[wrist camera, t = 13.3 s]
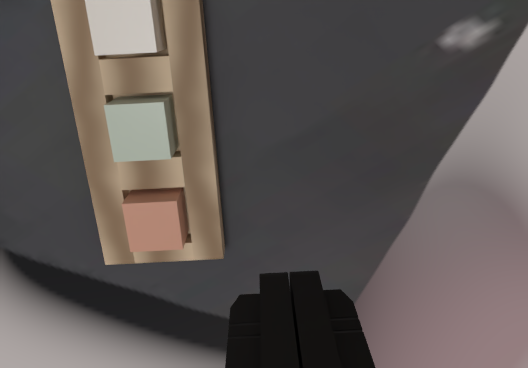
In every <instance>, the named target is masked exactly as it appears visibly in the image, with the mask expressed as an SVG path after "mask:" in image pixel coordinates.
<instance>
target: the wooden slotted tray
mask: <svg viewBox="0 0 528 368" xmlns="http://www.w3.org/2000/svg"><path fill="white" fill-rule="evenodd" d="M160 1H161V9H162V17H163V25H164V33H165V41H166V49H164V50H162V51H159V52H154V53H135V54H116V55H97V56H95V54H94V49H93V43H92V38H91V32H90V27H89V21H88V16H87V10H86V5H85V0H51V4H52V9H53V14H54V19H55V23H56V28H57V33H58V38H59V43H60V47H61V52H62V57H63V62H64V67H65V72H66V76H67V81H68V86H69V91H70V96H71V101H72V105H73V110H74V115H75V120H76V125H77V129H78V134H79V139H80V144H81V149H82V154H83V158H84V163H85V168H86V173H87V178H88V183H89V187H90V192H91V197H92V202H93V207H94V211H95V216H96V221H97V226H98V231H99V236H100V240H101V245H102V250H103V255H104V260H105V265H111V264H130V263H149V262H168V261H187V260H206V259H224V251H225V240H224V229H223V218H222V207H221V197H220V186H219V175H218V164H217V153H216V142H215V132H214V121H213V110H212V99H211V88H210V77H209V67H208V56H207V45H206V34H205V23H204V12H203V2H202V0H160ZM163 94H172V98H173V106H174V114H175V122H176V130H177V138H178V148H177V150H176V152H175V153H174V155H173V157H172V158H171V159H165V160H146V161H127V162H114V159H113V154H112V148H111V143H110V137H109V132H108V126H107V121H106V115H105V110H104V105H105V104H107V103H108V102H110V101H112V100H113V99H115V98H117V97H125V96H144V95H163ZM175 187H184V195H185V203H186V211H187V219H188V227H189V231H188V235H187V238H186V241H185V244H184V248H183V249H182V250H163V251H144V252H130V247H129V242H128V236H127V231H126V225H125V220H124V214H123V209H122V203H123V201H124V200H125V199H126V197H127V196H128V194H129V193H130V191H131V190H137V189H156V188H175Z"/></svg>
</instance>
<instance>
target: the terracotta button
mask: <svg viewBox="0 0 528 368" xmlns="http://www.w3.org/2000/svg"><path fill="white" fill-rule="evenodd" d="M122 209H123V214H124V220H125V225H126V231H127V236H128V242H129V247H130V252H144V251H163V250H182V249H183V248H184V244H185V241H186V238H187V235H188V231H189V227H188V219H187V211H186V203H185V195H184V187H175V188H156V189H137V190H131V191H130V193H129V194H128V196H127V197H126V199H125V200H124V201H123V203H122Z"/></svg>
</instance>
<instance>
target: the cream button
mask: <svg viewBox="0 0 528 368" xmlns="http://www.w3.org/2000/svg"><path fill="white" fill-rule="evenodd" d="M85 5H86V10H87V16H88V21H89V27H90V32H91V38H92V43H93V49H94V54H95V56H97V55H116V54H135V53H154V52H159V51H162V50H164V49H166V41H165V33H164V25H163V17H162V9H161V1H160V0H85Z"/></svg>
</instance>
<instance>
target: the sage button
mask: <svg viewBox="0 0 528 368" xmlns="http://www.w3.org/2000/svg"><path fill="white" fill-rule="evenodd" d="M104 110H105V115H106V121H107V126H108V132H109V137H110V143H111V148H112V154H113V159H114V162H127V161H146V160H165V159H171V158H172V157H173V155H174V153H175V152H176V150H177V148H178V138H177V130H176V122H175V114H174V106H173V98H172V94H163V95H144V96H125V97H117V98H115V99H113V100H112V101H110V102H108V103H107V104H105V105H104Z"/></svg>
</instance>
